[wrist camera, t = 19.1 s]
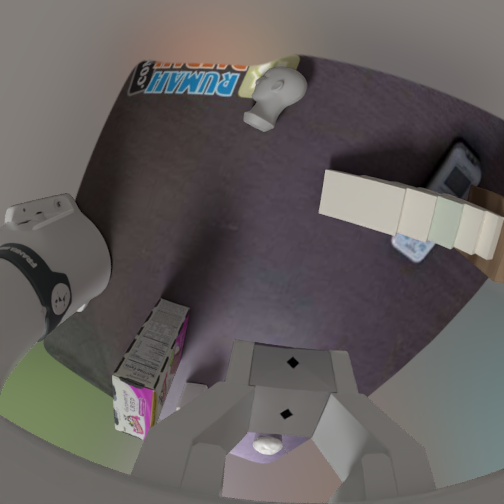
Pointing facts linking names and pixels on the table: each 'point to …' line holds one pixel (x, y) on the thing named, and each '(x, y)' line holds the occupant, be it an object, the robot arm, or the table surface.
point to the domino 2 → (415, 212)
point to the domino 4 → (468, 226)
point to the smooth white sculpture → (274, 96)
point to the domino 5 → (487, 232)
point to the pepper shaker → (190, 393)
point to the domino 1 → (362, 201)
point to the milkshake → (268, 443)
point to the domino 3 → (444, 220)
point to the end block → (500, 265)
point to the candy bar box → (149, 369)
